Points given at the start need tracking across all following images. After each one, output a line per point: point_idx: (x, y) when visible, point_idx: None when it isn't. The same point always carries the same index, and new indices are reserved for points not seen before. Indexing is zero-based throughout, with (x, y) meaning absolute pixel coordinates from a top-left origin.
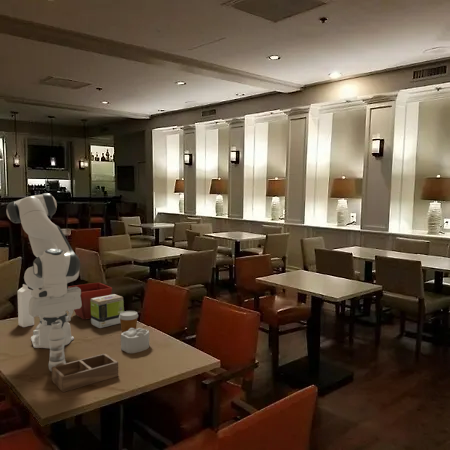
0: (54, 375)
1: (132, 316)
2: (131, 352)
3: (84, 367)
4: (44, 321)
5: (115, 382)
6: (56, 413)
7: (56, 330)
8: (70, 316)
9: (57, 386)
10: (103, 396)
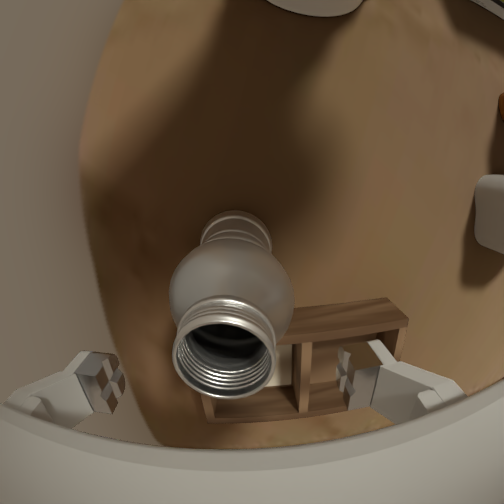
0: None
1: None
2: (480, 243)
3: (299, 378)
4: (88, 412)
5: None
6: (180, 446)
7: (218, 359)
8: (386, 405)
9: None
10: (286, 440)
